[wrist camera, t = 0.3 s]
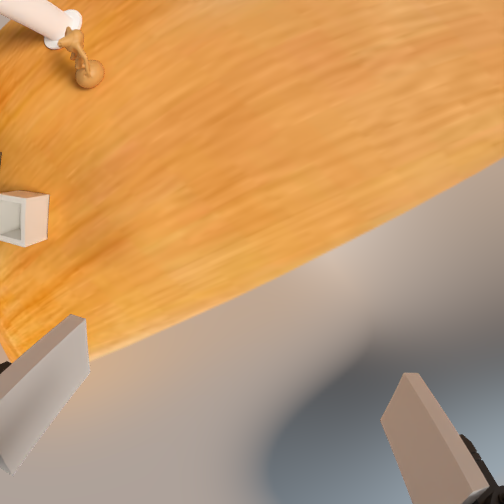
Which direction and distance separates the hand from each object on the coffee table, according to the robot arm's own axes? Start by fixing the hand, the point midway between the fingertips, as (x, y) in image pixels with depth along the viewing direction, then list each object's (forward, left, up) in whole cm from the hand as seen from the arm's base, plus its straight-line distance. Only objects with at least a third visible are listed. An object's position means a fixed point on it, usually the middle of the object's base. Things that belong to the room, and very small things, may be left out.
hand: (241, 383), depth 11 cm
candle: (-27, -34, -28) cm, 52 cm away
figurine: (-19, -25, -28) cm, 42 cm away
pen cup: (+2, -33, -28) cm, 44 cm away
